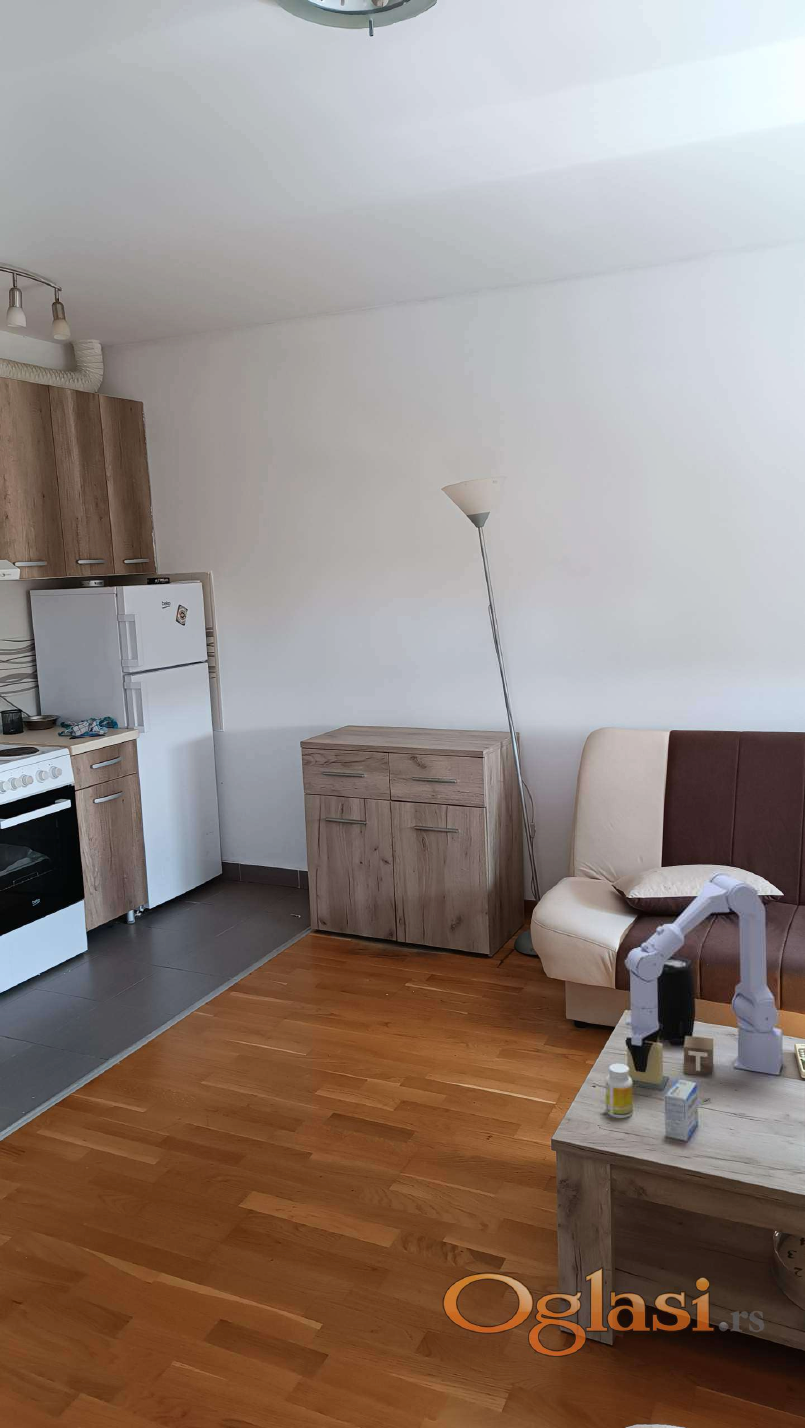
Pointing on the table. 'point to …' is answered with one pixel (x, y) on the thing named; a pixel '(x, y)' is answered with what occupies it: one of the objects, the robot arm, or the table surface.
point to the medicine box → (681, 1109)
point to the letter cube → (698, 1055)
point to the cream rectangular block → (649, 1065)
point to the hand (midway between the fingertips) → (644, 1063)
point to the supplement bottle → (619, 1091)
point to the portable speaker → (676, 1000)
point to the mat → (651, 1085)
